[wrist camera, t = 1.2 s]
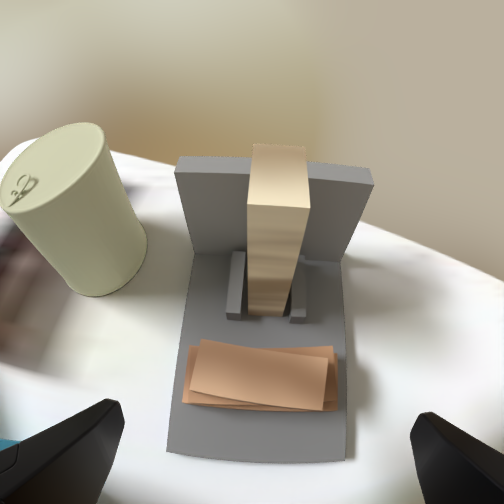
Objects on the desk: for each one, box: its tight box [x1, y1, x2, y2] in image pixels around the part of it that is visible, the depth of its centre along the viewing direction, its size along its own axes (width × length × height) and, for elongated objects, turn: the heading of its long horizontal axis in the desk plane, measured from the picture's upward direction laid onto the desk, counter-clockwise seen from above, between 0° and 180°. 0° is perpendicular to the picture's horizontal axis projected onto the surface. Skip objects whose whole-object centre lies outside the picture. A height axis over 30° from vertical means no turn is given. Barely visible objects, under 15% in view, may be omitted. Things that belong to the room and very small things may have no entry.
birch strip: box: [247, 143, 310, 317], centre depth 18 cm, size 4×2×12 cm, turn 176°
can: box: [0, 123, 147, 296], centre depth 21 cm, size 9×9×12 cm
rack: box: [166, 156, 374, 463], centre depth 17 cm, size 18×12×10 cm
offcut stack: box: [182, 339, 338, 412], centre depth 18 cm, size 4×10×4 cm, turn 86°
